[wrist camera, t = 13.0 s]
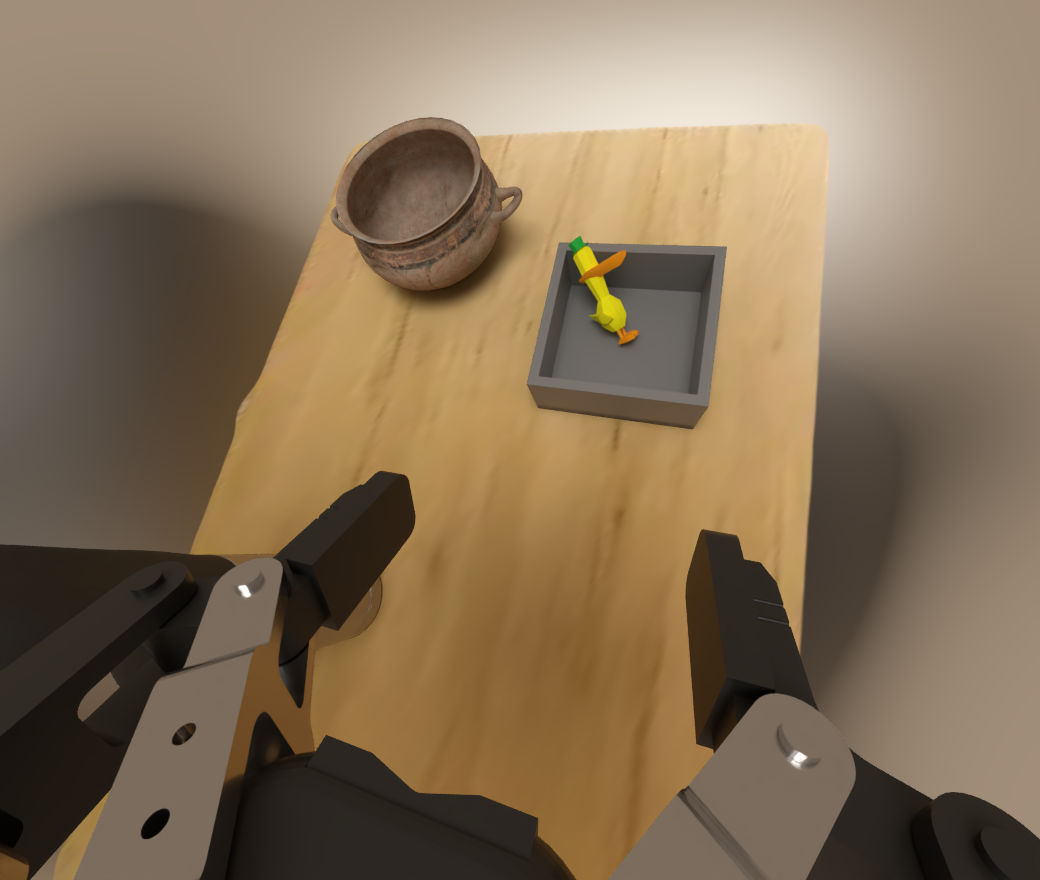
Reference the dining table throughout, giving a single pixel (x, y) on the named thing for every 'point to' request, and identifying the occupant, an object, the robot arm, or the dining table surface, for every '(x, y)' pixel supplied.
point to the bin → (651, 354)
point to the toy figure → (602, 288)
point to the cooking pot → (422, 204)
